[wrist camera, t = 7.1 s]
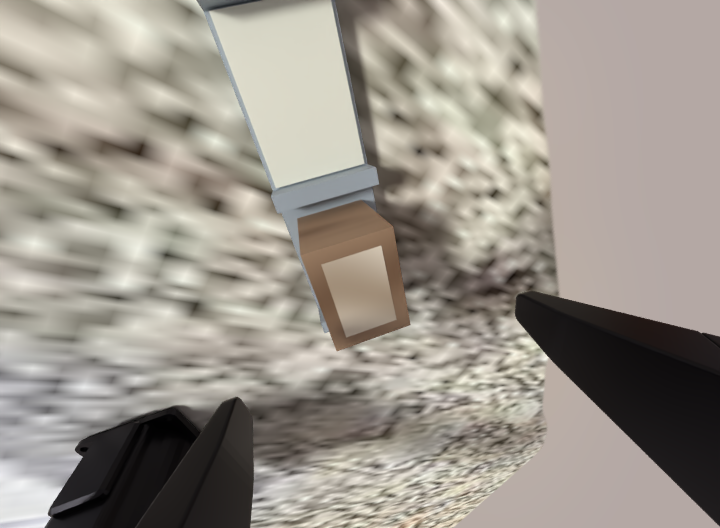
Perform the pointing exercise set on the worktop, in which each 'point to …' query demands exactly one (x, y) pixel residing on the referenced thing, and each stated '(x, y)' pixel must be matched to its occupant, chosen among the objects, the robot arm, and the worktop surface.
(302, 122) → the bracket
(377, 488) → the worktop surface
